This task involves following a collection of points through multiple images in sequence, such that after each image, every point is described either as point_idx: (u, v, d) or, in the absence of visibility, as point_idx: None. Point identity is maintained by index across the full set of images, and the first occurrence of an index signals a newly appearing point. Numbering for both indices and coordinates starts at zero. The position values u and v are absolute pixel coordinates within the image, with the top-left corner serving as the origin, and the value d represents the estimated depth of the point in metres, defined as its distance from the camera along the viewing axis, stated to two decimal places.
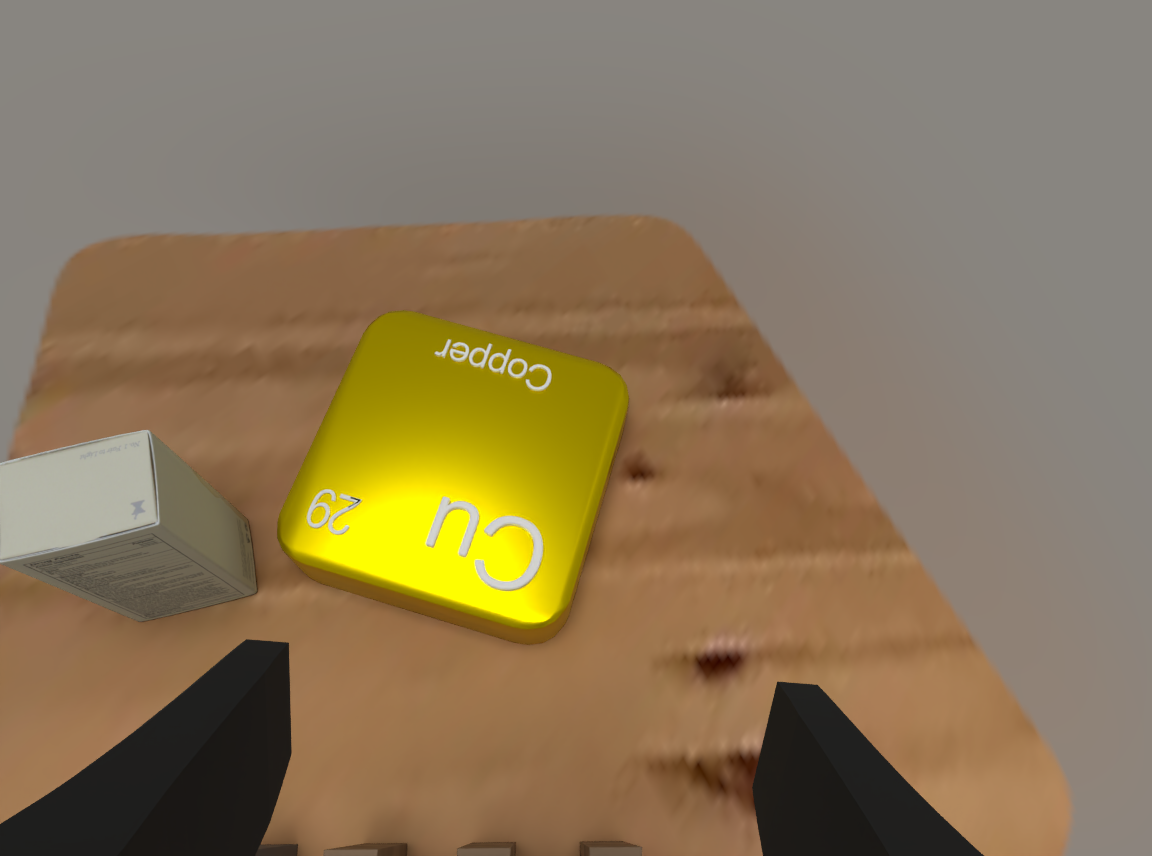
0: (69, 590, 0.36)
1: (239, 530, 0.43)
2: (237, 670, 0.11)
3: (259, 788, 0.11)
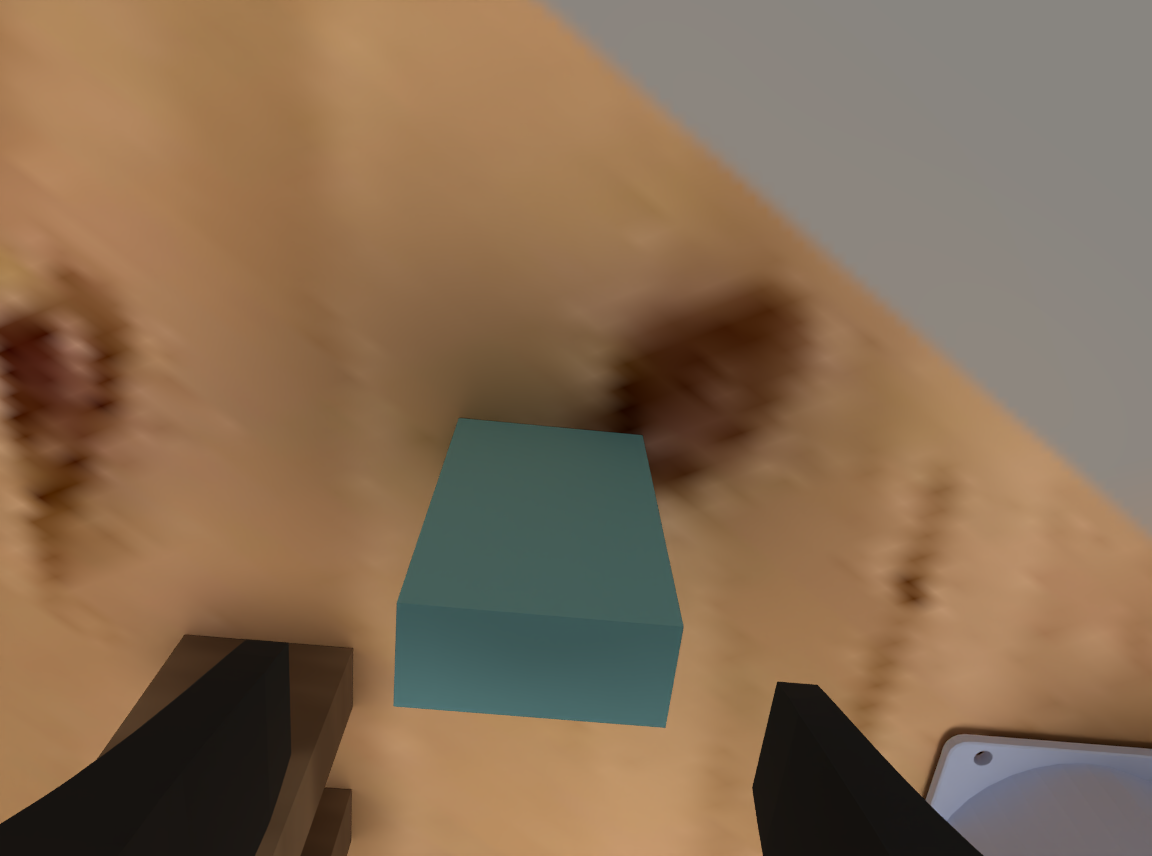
0: None
1: None
2: (237, 670, 0.11)
3: (259, 788, 0.11)
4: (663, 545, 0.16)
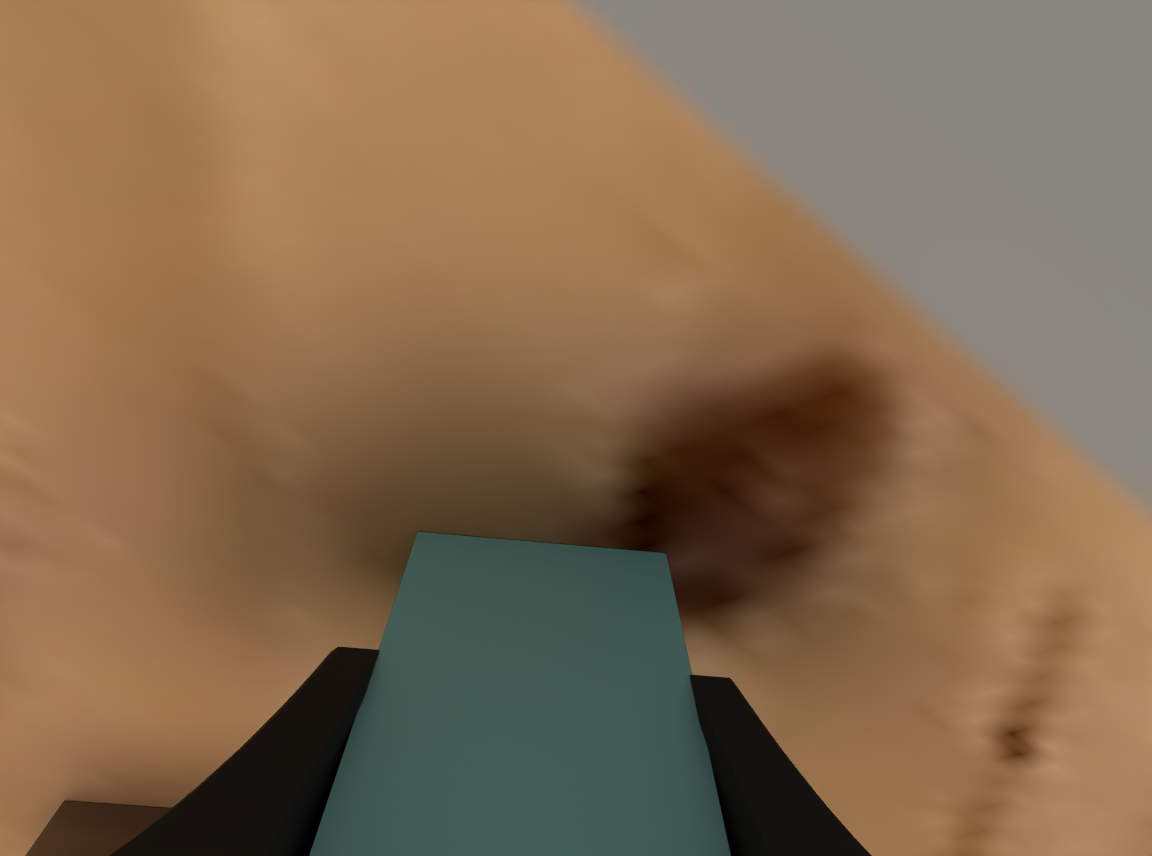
0: None
1: None
2: (337, 678, 0.11)
3: None
4: (710, 778, 0.10)
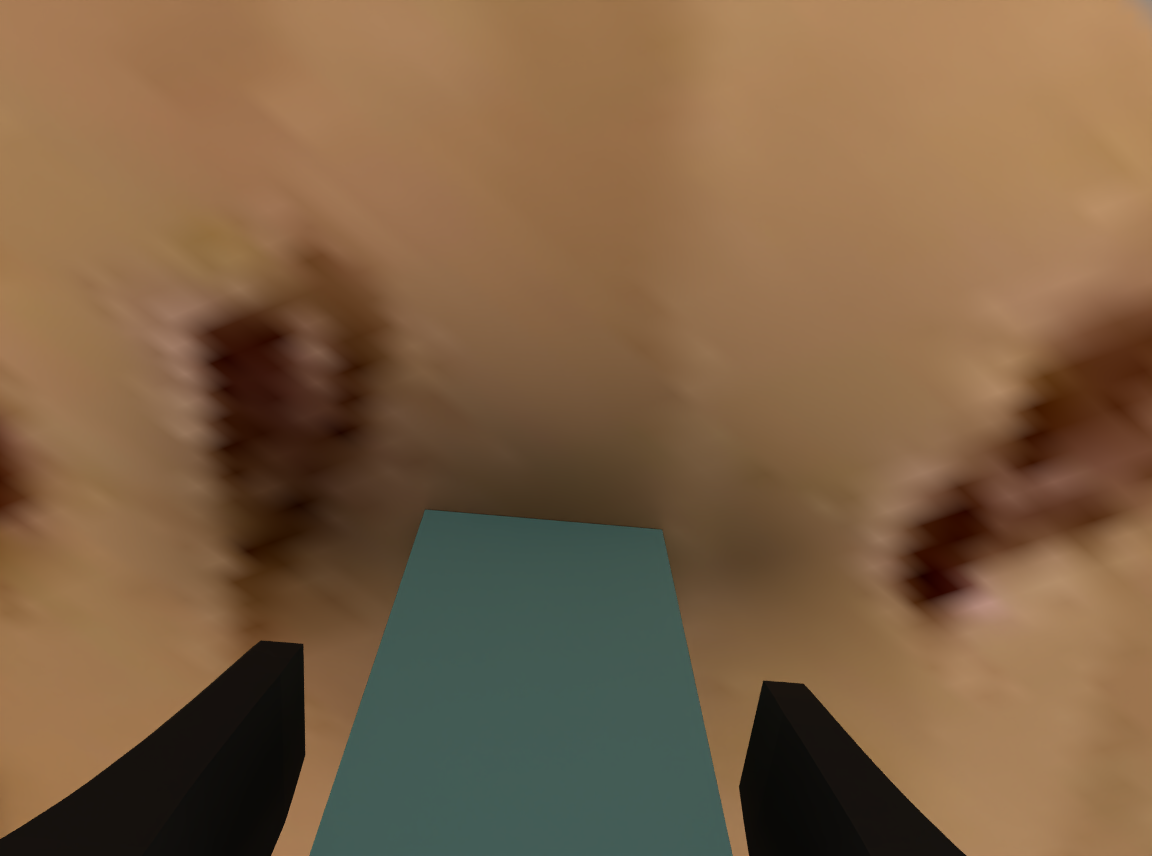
0: None
1: None
2: (253, 671, 0.11)
3: (275, 789, 0.11)
4: (701, 729, 0.11)
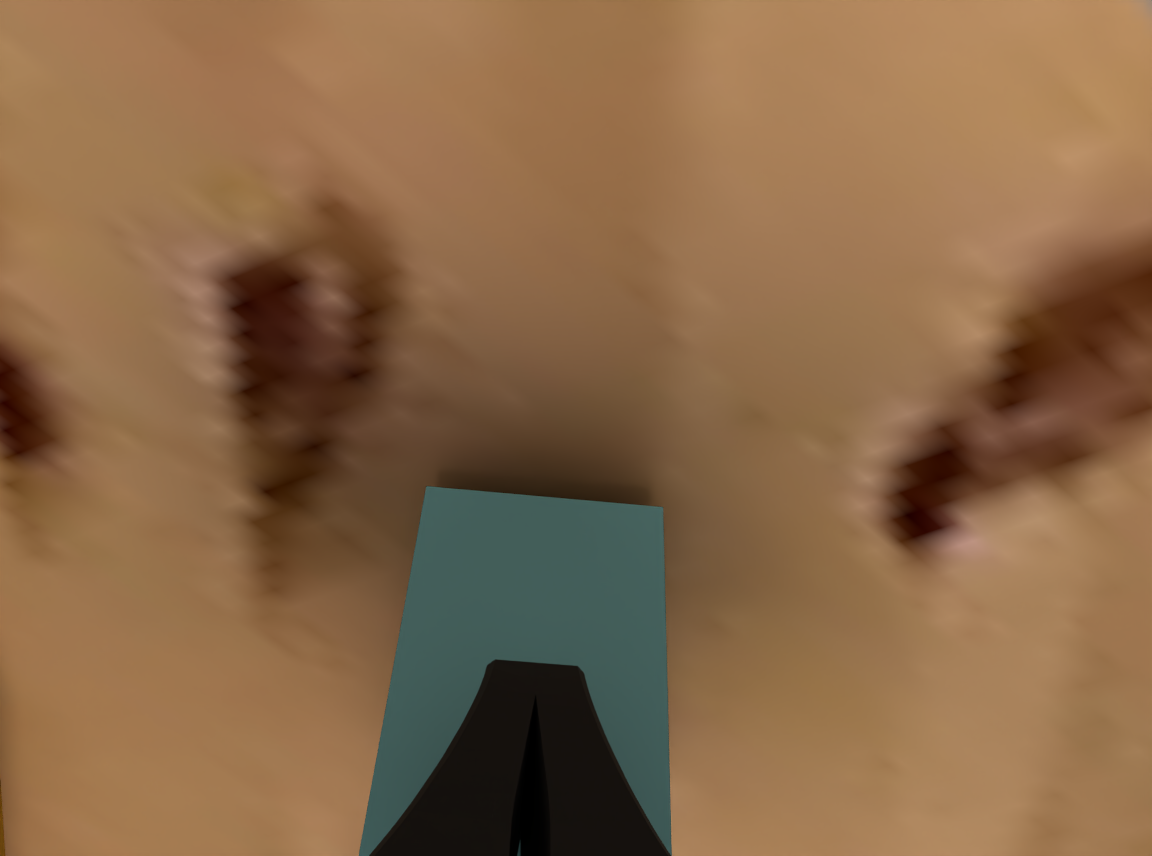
0: None
1: None
2: (509, 691, 0.11)
3: (522, 807, 0.11)
4: (667, 809, 0.13)
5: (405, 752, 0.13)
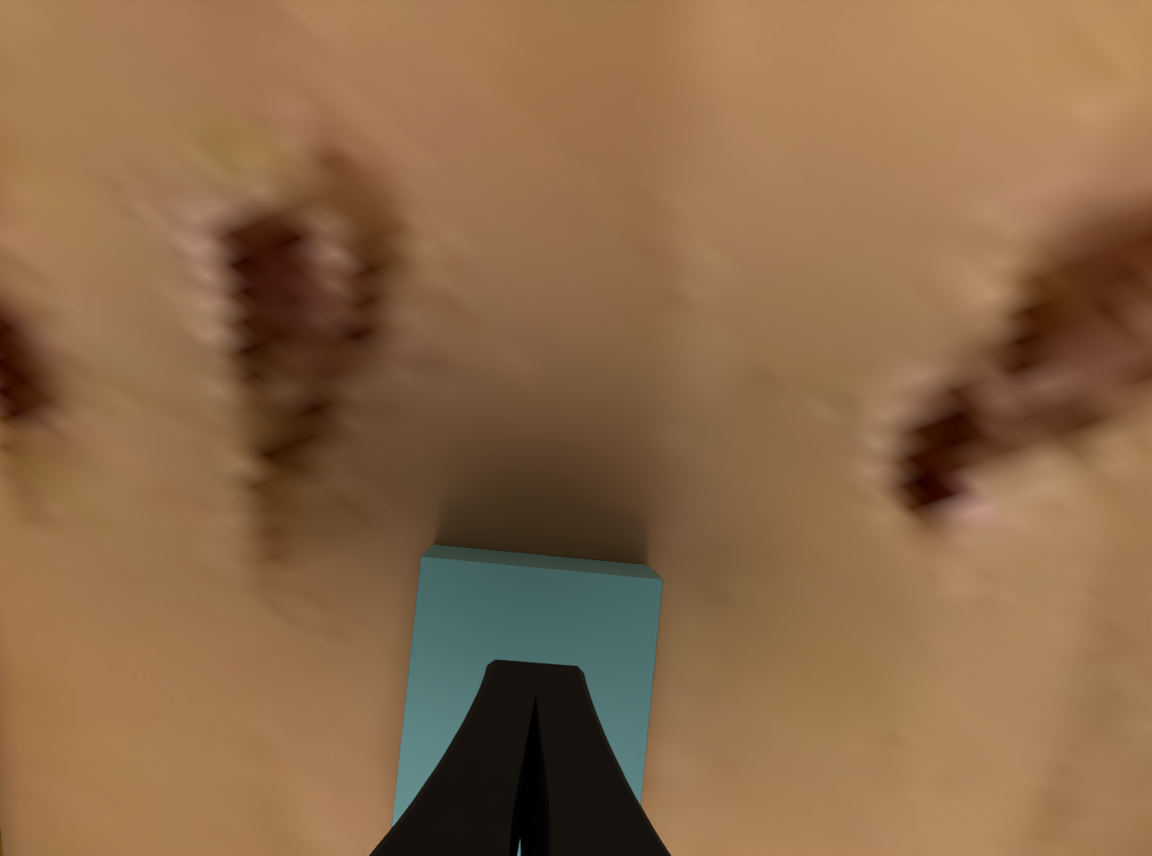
0: None
1: None
2: (509, 691, 0.11)
3: (522, 806, 0.11)
4: None
5: None
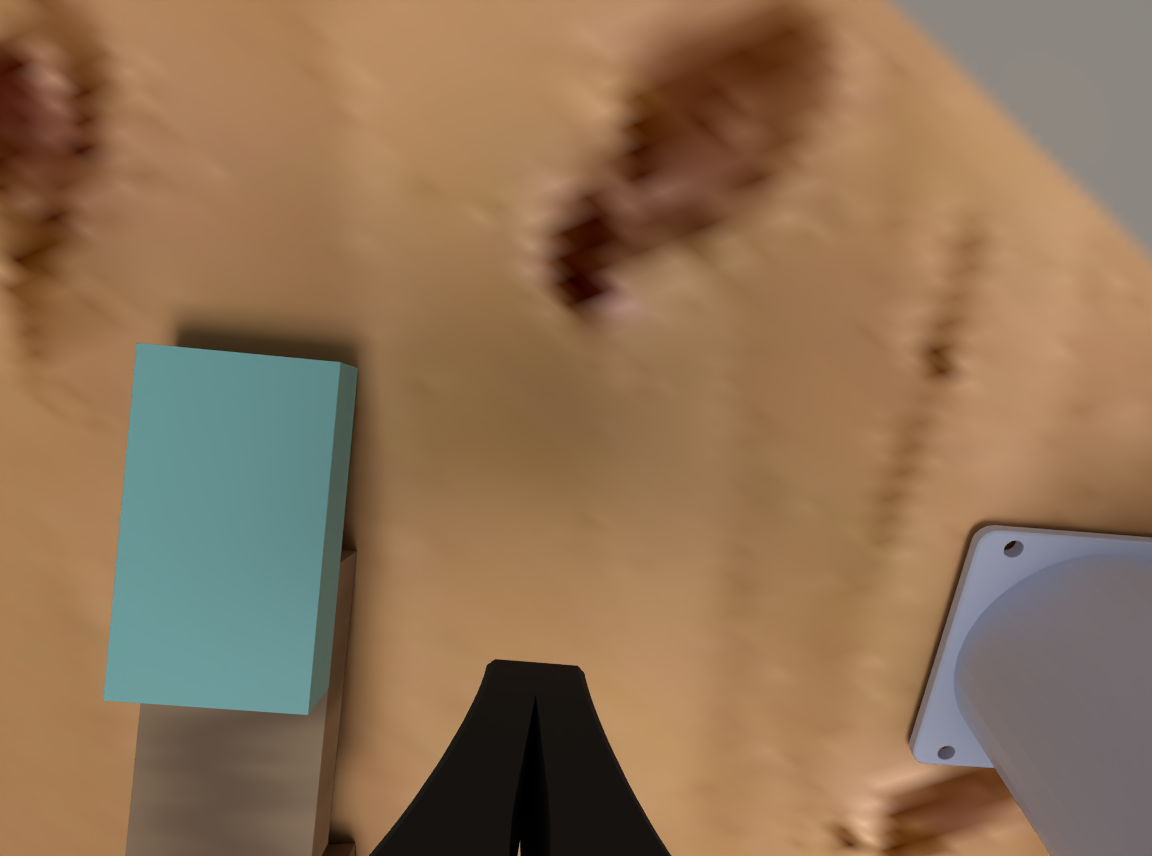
0: None
1: None
2: (509, 691, 0.11)
3: (522, 807, 0.11)
4: (316, 601, 0.19)
5: (135, 562, 0.19)
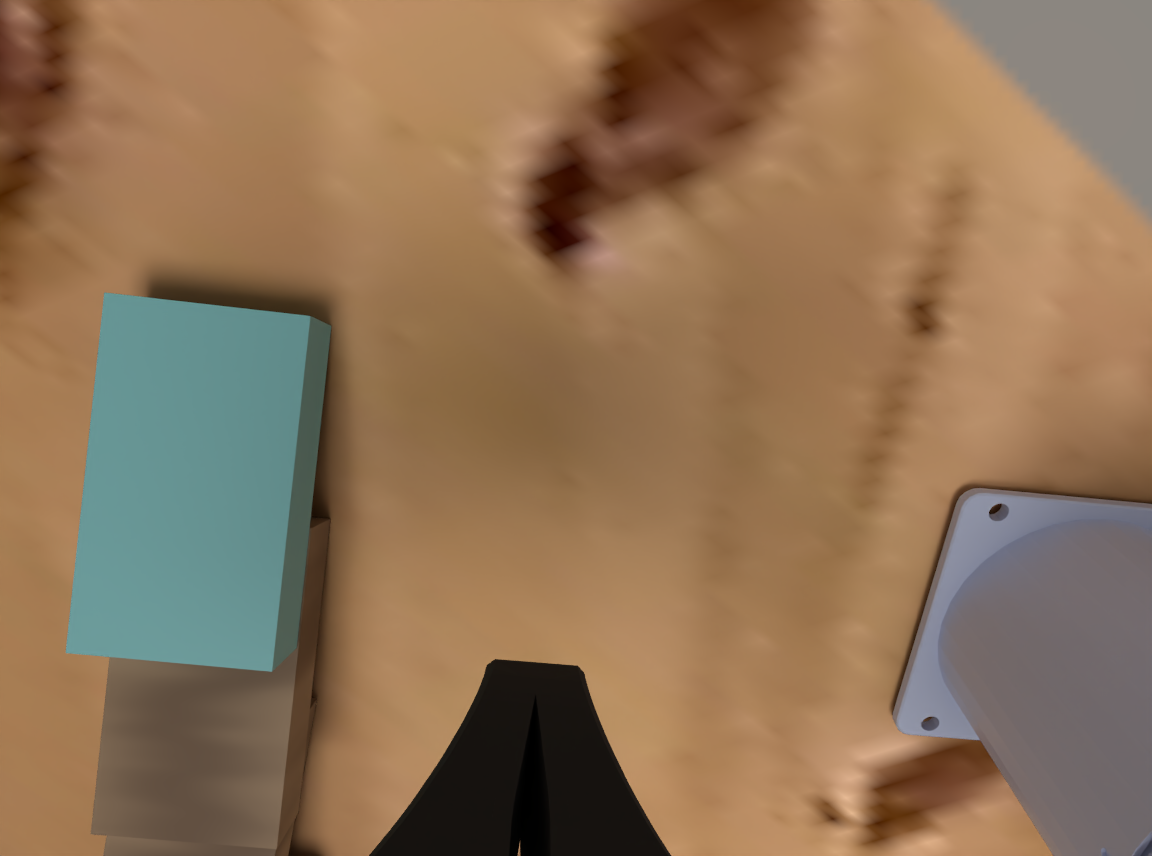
0: None
1: None
2: (509, 691, 0.11)
3: (522, 807, 0.11)
4: (282, 557, 0.19)
5: (100, 514, 0.19)
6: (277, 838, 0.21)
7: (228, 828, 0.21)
